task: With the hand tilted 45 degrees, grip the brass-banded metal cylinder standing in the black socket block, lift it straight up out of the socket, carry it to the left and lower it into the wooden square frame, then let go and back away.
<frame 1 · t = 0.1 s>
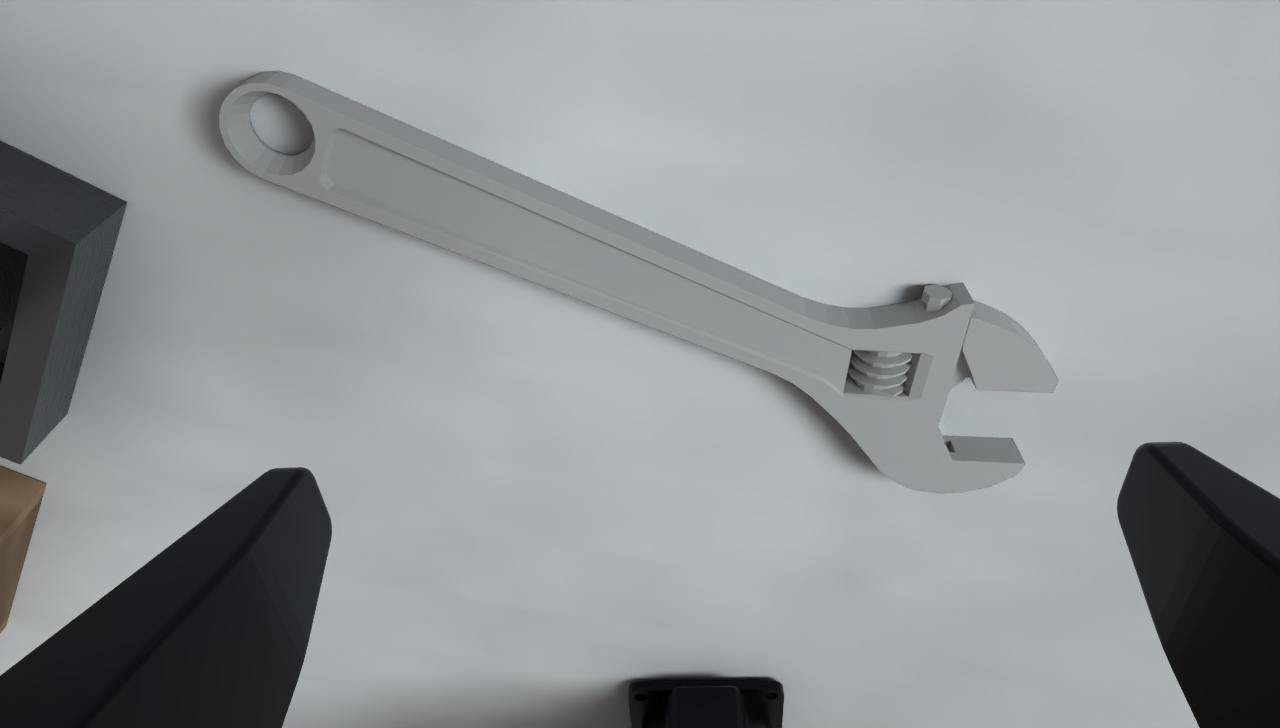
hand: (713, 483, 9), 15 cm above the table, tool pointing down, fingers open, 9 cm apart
adjustable wrench: (692, 254, 25), on the table
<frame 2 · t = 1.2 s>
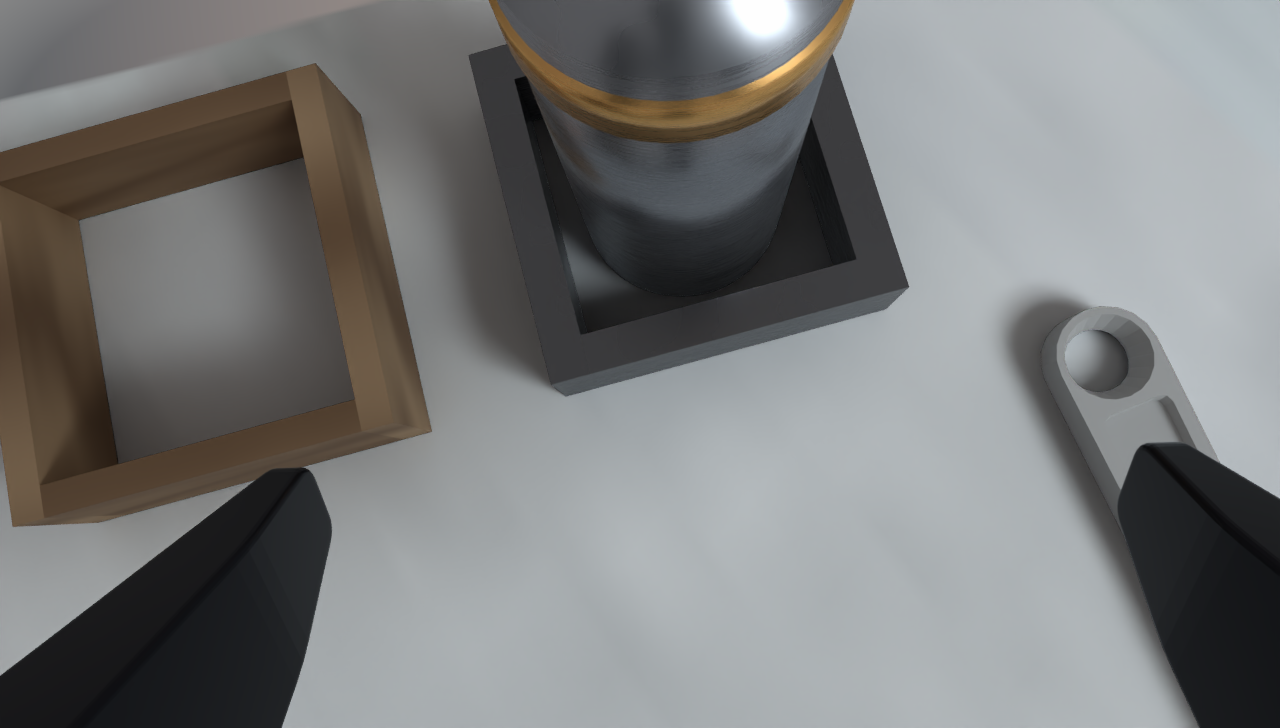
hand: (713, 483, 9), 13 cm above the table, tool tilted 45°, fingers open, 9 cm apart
wooden square frame: (233, 312, 24), on the table
socket block: (681, 200, 24), on the table
brass-banded metal cylinder: (677, 98, 18), in the socket block
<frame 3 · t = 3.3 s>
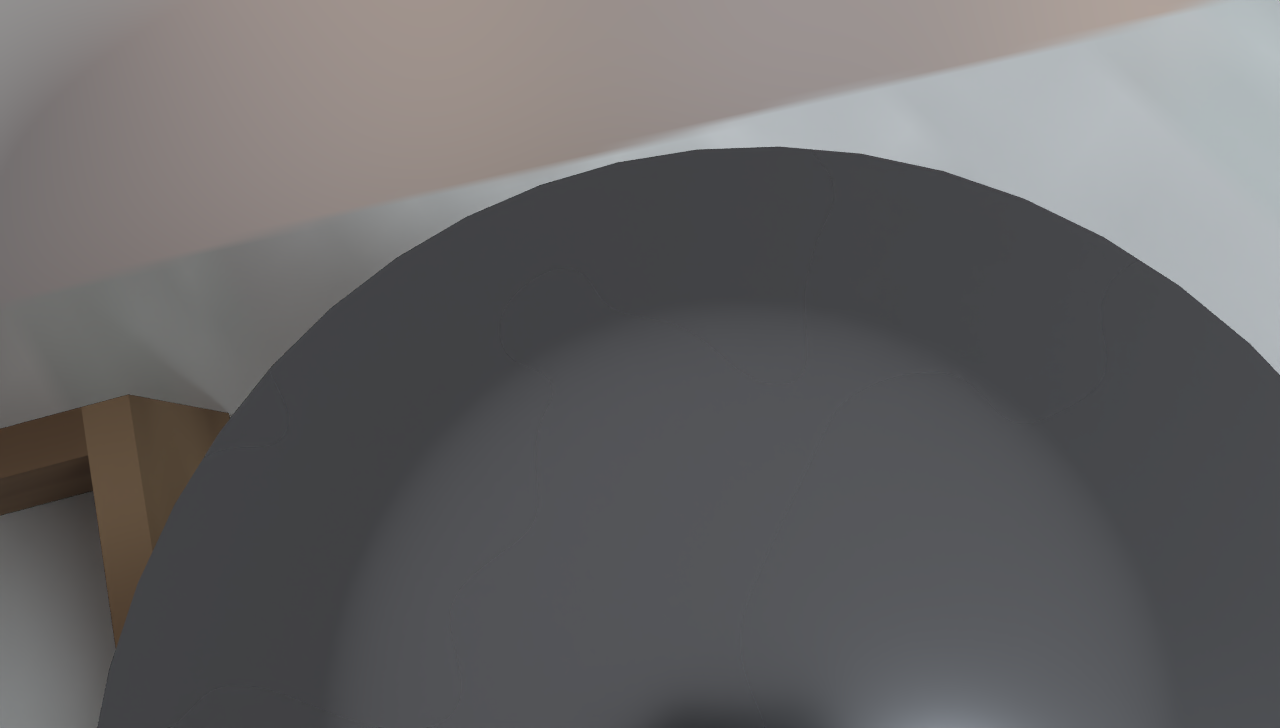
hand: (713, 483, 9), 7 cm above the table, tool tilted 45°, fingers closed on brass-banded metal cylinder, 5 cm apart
wooden square frame: (27, 724, 16), on the table
brass-banded metal cylinder: (716, 609, 9), in the socket block, touching gripper
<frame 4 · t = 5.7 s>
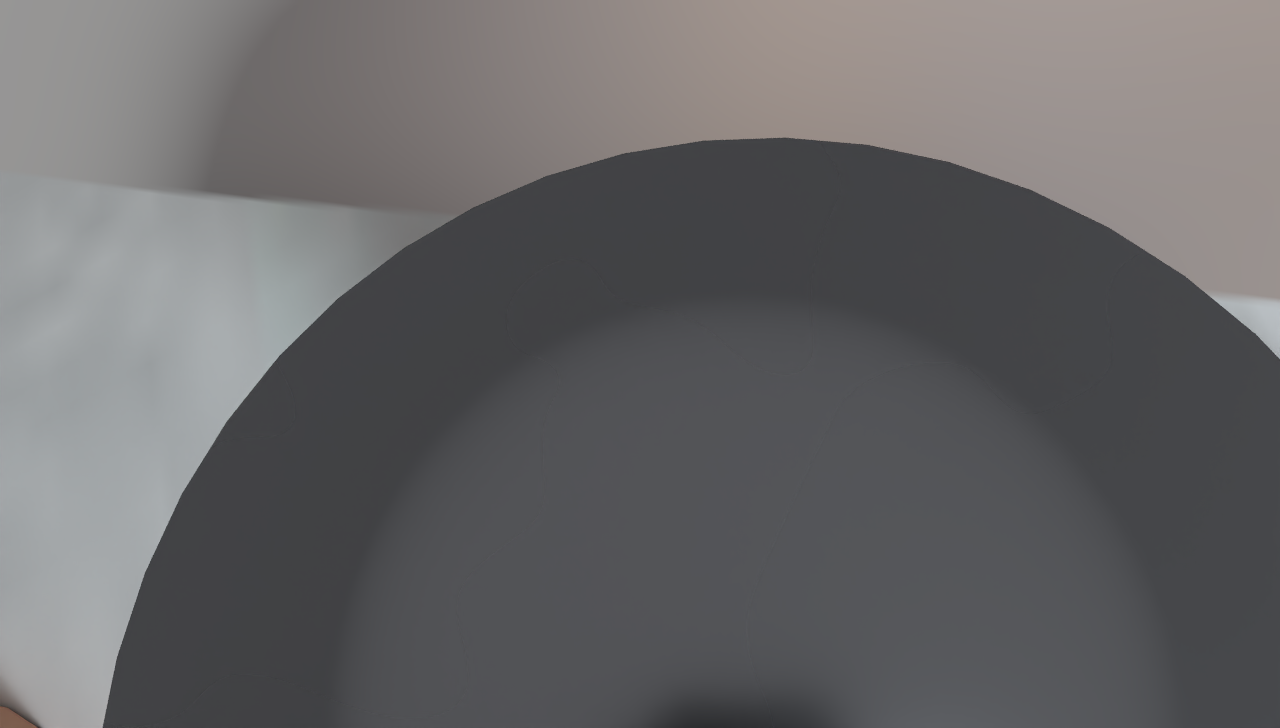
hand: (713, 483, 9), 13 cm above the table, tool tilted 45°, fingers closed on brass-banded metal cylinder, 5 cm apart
brass-banded metal cylinder: (718, 605, 9), point 13 cm above the table, touching gripper
when the fingers open (8 cm above the table, at t = 7.6 s): brass-banded metal cylinder drops 1 cm, resting in wooden square frame.
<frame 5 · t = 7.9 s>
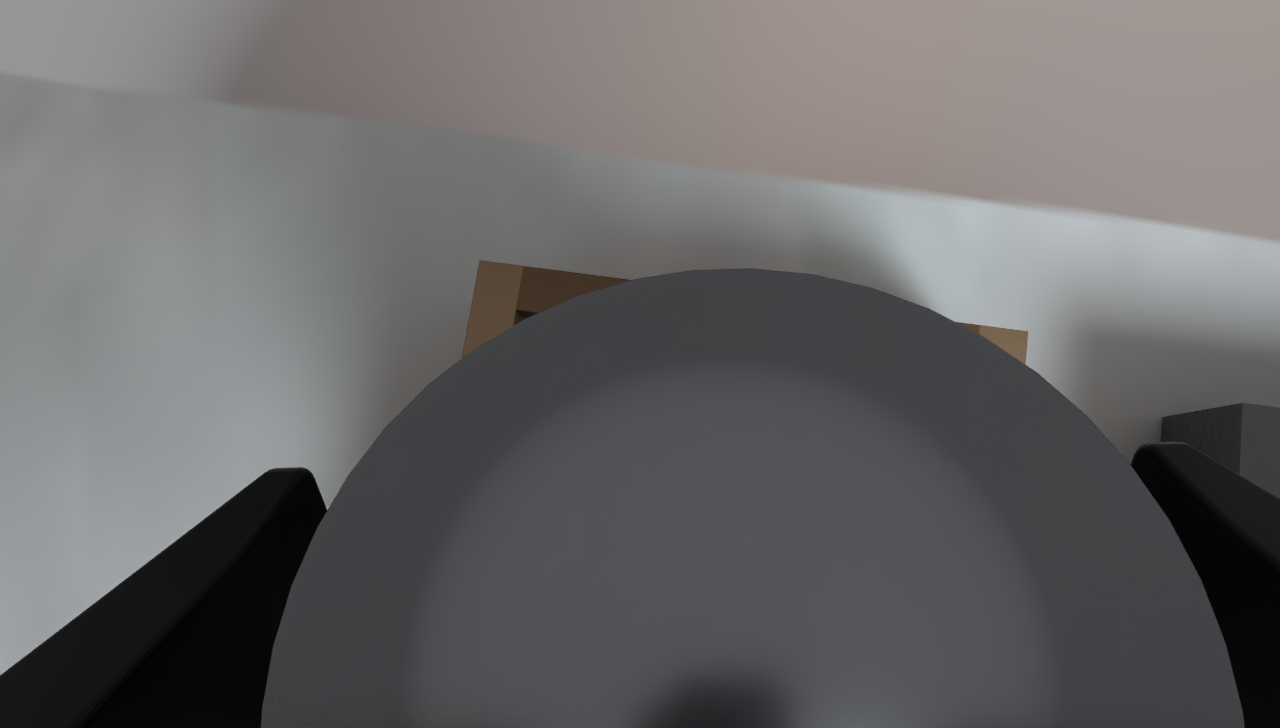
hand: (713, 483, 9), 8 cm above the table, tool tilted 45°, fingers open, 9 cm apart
wooden square frame: (706, 560, 17), on the table
brass-banded metal cylinder: (712, 605, 11), in the wooden square frame
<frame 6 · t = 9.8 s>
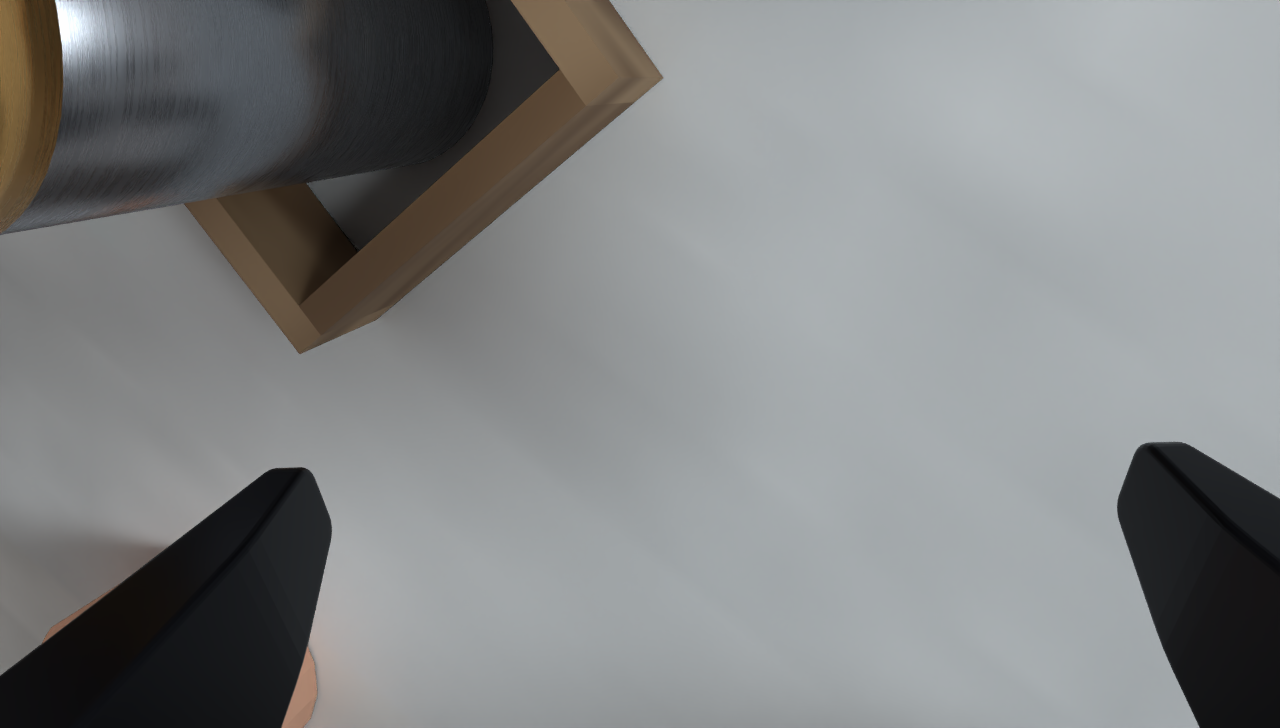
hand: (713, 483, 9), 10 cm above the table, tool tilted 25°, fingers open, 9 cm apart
pepper shaker: (226, 648, 28), on the table
wooden square frame: (379, 38, 19), on the table
brass-banded metal cylinder: (166, 28, 14), in the wooden square frame
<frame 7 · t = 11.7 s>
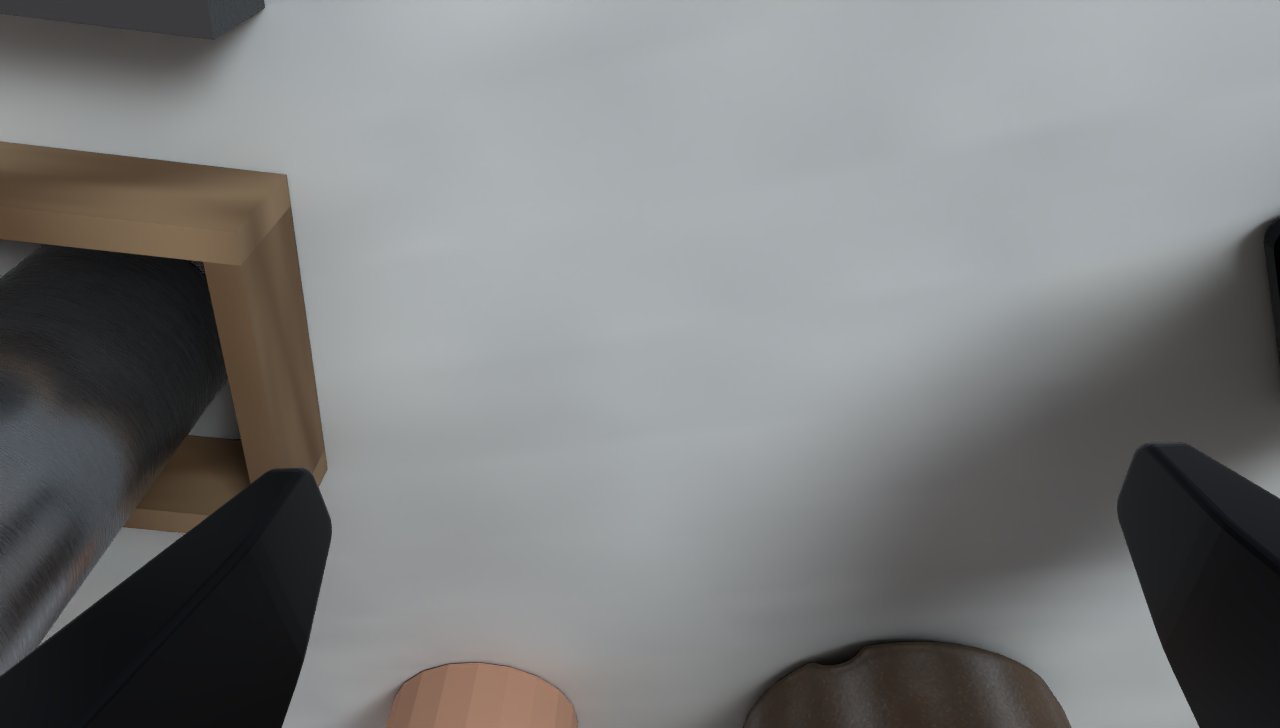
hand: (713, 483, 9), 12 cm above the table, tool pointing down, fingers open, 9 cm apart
pepper shaker: (486, 712, 34), on the table
wooden square frame: (129, 320, 23), on the table
plant pot: (893, 726, 34), on the table
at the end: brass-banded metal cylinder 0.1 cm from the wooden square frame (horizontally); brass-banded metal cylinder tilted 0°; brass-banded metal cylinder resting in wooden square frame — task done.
